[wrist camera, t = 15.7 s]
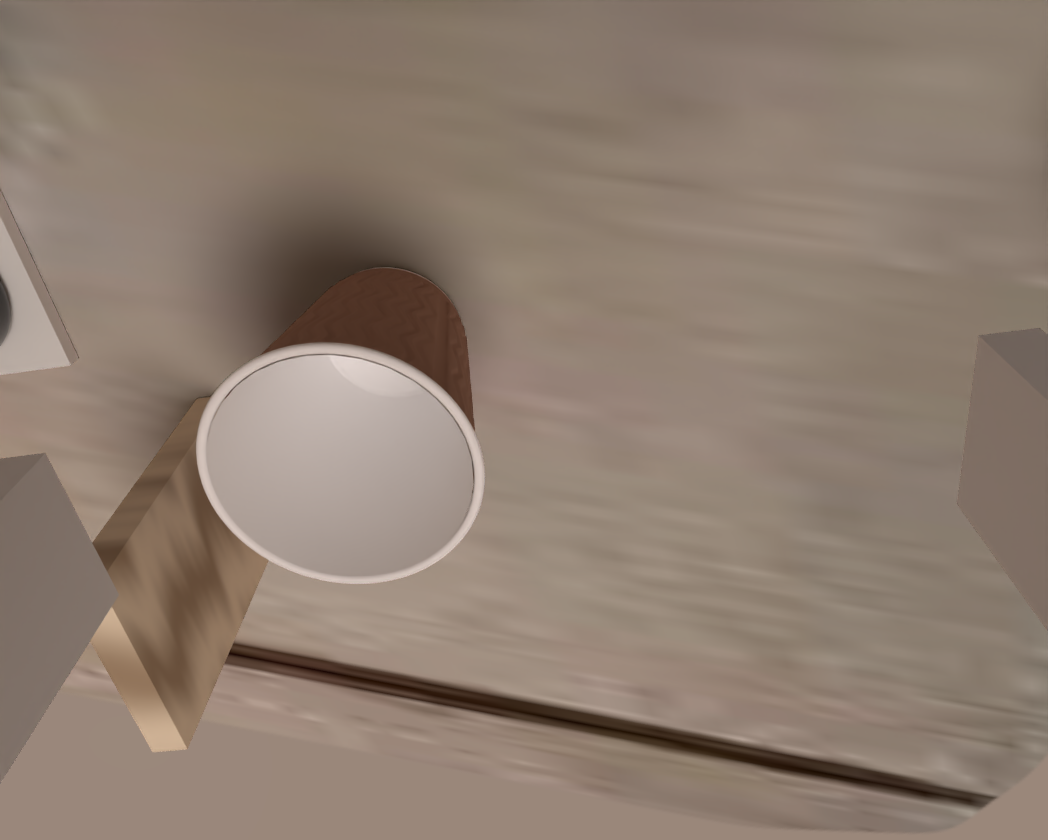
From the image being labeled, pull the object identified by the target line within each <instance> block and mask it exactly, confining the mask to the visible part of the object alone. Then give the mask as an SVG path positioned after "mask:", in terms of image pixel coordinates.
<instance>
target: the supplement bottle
mask: <svg viewBox="0 0 1048 840" xmlns="http://www.w3.org/2000/svg"><path fill="white" fill-rule="evenodd" d="M9 326H10V305H9V301H8V297H7V294H6V291H5V289H4V287H3V285H2V283H1V281H0V346H1V345H2V343H3V342H4V340H5V338H6V336H7V333H8V330H9Z"/></svg>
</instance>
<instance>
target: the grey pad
mask: <svg viewBox="0 0 1048 840" xmlns="http://www.w3.org/2000/svg"><path fill="white" fill-rule="evenodd" d="M0 281H1V283H2V285H3V287H4V289H5V291H6V294H7V297H8V301H9V305H10V326H9V330H8V333H7V336H6V338H5V340H4V342H3V343H2V345H1V346H0V375H5V374H12V373H19V372H27V371H34V370H41V369H49V368H56V367H63V366H71V365H72V364H73V363H74V362H75V361H76V360H77V359H78V355H77V353H76V351H75V349H74V347H73V345H72V343H71V340H70V338H69V336H68V334H67V332H66V330H65V328H64V325H63V323H62V321H61V319H60V317H59V315H58V313H57V310H56V308H55V306H54V304H53V302H52V300H51V297H50V295H49V293H48V291H47V289H46V287H45V285H44V282H43V280H42V278H41V276H40V274H39V272H38V270H37V267H36V265H35V263H34V261H33V259H32V257H31V255H30V252H29V250H28V248H27V246H26V244H25V242H24V239H23V237H22V235H21V233H20V231H19V229H18V227H17V224H16V222H15V220H14V218H13V216H12V214H11V212H10V209H9V207H8V205H7V203H6V201H5V199H4V197H3V194H2V192H1V190H0Z"/></svg>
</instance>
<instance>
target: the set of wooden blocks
mask: <svg viewBox="0 0 1048 840" xmlns="http://www.w3.org/2000/svg"><path fill="white" fill-rule="evenodd" d="M209 399H210V397H205V398H197V399H196V401H195V402H194V403H193V405H192V406H191V408H190V409H189V410H188V412H187V413H186V414H185V416H184V417H183V419H182V420H181V421H180V423H179V424H178V426H177V427H176V428H175V430H174V431H173V432H172V434H171V435H170V437H169V438H168V439H167V441H166V442H165V443H164V445H163V446H162V448H161V449H160V450H159V452H158V453H157V454H156V456H155V457H154V459H153V460H152V461H151V463H150V464H149V465H148V467H147V468H146V470H145V471H144V472H143V474H142V475H141V477H140V478H139V479H138V481H137V482H136V483H135V485H134V486H133V488H132V489H131V490H130V492H129V493H128V494H127V496H126V497H125V499H124V500H123V501H122V503H121V504H120V505H119V507H118V508H117V510H116V511H115V512H114V514H113V515H112V516H111V518H110V519H109V521H108V522H107V523H106V525H105V526H104V528H103V529H102V530H101V532H100V533H99V534H98V536H97V537H96V539H95V540H94V541H93V543H92V544H93V546H94V547H95V549H96V551H97V553H98V555H99V557H100V559H101V561H102V563H103V565H104V567H105V569H106V570H107V572H108V574H109V576H110V578H111V580H112V582H113V584H114V586H115V588H116V590H117V592H118V594H119V596H118V597H117V599H116V601H115V602H114V604H113V605H112V607H111V609H110V610H109V612H108V613H107V615H106V616H105V618H104V620H103V621H102V623H101V624H100V626H99V628H98V629H97V631H96V632H95V634H94V636H93V637H92V639H91V640H90V642H91V644H92V645H93V647H94V649H95V651H96V652H97V654H98V656H99V658H100V659H101V661H102V663H103V665H104V667H105V668H106V670H107V672H108V674H109V675H110V677H111V679H112V681H113V683H114V684H115V686H116V688H117V690H118V691H119V693H120V695H121V697H122V698H123V700H124V702H125V704H126V706H127V707H128V709H129V711H130V713H131V714H132V716H133V718H134V720H135V722H136V723H137V725H138V727H139V729H140V730H141V732H142V734H143V736H144V738H145V739H146V741H147V743H148V745H149V746H150V748H151V750H152V752H161V751H172V750H184V749H188V746H189V744H190V742H191V740H192V737H193V735H194V733H195V730H196V728H197V726H198V723H199V721H200V719H201V716H202V714H203V712H204V709H205V707H206V705H207V702H208V700H209V698H210V695H211V693H212V691H213V688H214V686H215V684H216V681H217V679H218V677H219V674H220V672H221V670H222V667H223V665H224V663H225V661H226V658H227V656H228V654H229V651H230V649H231V647H232V644H233V642H234V640H235V637H236V635H237V633H238V630H239V628H240V626H241V623H242V621H243V619H244V616H245V614H246V612H247V609H248V607H249V605H250V602H251V600H252V598H253V595H254V593H255V591H256V588H257V586H258V584H259V581H260V579H261V577H262V574H263V572H264V570H265V567H266V565H267V563H268V560H267V559H266V558H264V557H262V556H261V555H259V554H258V553H256V552H255V551H254V550H252V549H251V548H250V547H248V546H247V545H246V544H245V543H243V542H242V541H241V540H240V539H239V538H238V537H237V536H236V535H235V534H234V533H233V532H232V531H231V530H230V529H229V528H228V527H227V526H226V525H225V523H224V522H223V521H222V520H221V518H220V517H219V516H218V514H217V513H216V511H215V510H214V508H213V506H212V505H211V503H210V501H209V499H208V497H207V495H206V493H205V490H204V488H203V485H202V482H201V479H200V475H199V471H198V465H197V456H196V439H197V431H198V426H199V422H200V419H201V416H202V413H203V411H204V409H205V407H206V404H207V402H208V401H209ZM224 400H225V399H224ZM224 400H223V401H224ZM223 401H222V402H223ZM220 405H221V404H220ZM219 407H220V406H219ZM218 409H219V408H218ZM217 411H218V410H217ZM216 413H217V412H216ZM215 415H216V414H215ZM214 417H215V416H214ZM213 419H214V418H213ZM210 428H211V427H210Z"/></svg>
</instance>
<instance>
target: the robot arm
mask: <svg viewBox="0 0 1048 840" xmlns="http://www.w3.org/2000/svg"><path fill="white" fill-rule="evenodd" d="M957 505H958V506H959V508H960V509H961V510H962V512H963V513H964V515H965V516H966V517H967V519H968V520H969V522H970V523H971V524H972V526H973V527H974V529H975V530H976V531H977V533H978V534H979V536H980V537H981V538H982V540H983V541H984V543H985V544H986V545H987V547H988V548H989V550H990V551H991V552H992V554H993V555H994V557H995V558H996V559H997V561H998V562H999V564H1000V565H1001V566H1002V568H1003V569H1004V571H1005V572H1006V573H1007V575H1008V576H1009V578H1010V579H1011V580H1012V582H1013V583H1014V585H1015V586H1016V587H1017V589H1018V590H1019V592H1020V593H1021V594H1022V596H1023V597H1024V599H1025V600H1026V601H1027V603H1028V604H1029V606H1030V607H1031V608H1032V610H1033V611H1034V613H1035V614H1036V615H1037V617H1038V618H1039V620H1040V621H1041V622H1042V624H1043V625H1044V627H1045V628H1046V629H1047V631H1048V334H1046V333H1045V332H1044V331H1043V330H1041V329H1040V328H1035V329H1027V330H1019V331H1011V332H1003V333H995V334H987V335H979V337H978V344H977V352H976V360H975V368H974V375H973V383H972V391H971V399H970V406H969V414H968V422H967V430H966V437H965V445H964V453H963V460H962V468H961V476H960V484H959V491H958V499H957ZM118 596H119V594H118V592H117V590H116V588H115V586H114V584H113V582H112V580H111V578H110V576H109V574H108V572H107V570H106V569H105V567H104V565H103V563H102V561H101V559H100V557H99V555H98V553H97V551H96V549H95V547H94V546H93V544H92V542H91V540H90V538H89V536H88V534H87V532H86V530H85V528H84V526H83V524H82V522H81V521H80V519H79V517H78V515H77V513H76V511H75V509H74V507H73V505H72V503H71V501H70V499H69V497H68V496H67V494H66V492H65V490H64V488H63V486H62V484H61V482H60V480H59V478H58V476H57V474H56V472H55V471H54V469H53V467H52V465H51V463H50V461H49V459H48V457H47V455H46V453H42V454H34V455H26V456H18V457H10V458H2V459H0V783H1V781H2V780H3V778H4V777H5V775H6V774H7V772H8V770H9V769H10V767H11V766H12V764H13V763H14V761H15V759H16V758H17V756H18V755H19V753H20V751H21V750H22V748H23V747H24V745H25V744H26V742H27V740H28V739H29V737H30V735H31V734H32V732H33V731H34V729H35V728H36V726H37V724H38V723H39V721H40V720H41V718H42V717H43V715H44V713H45V712H46V710H47V709H48V707H49V705H50V704H51V702H52V700H53V699H54V697H55V696H56V694H57V693H58V691H59V690H60V688H61V686H62V685H63V683H64V682H65V680H66V678H67V677H68V675H69V674H70V672H71V670H72V669H73V667H74V666H75V664H76V663H77V661H78V659H79V658H80V656H81V655H82V653H83V651H84V650H85V648H86V647H87V645H88V643H89V642H90V640H91V639H92V637H93V636H94V634H95V632H96V631H97V629H98V628H99V626H100V624H101V623H102V621H103V620H104V618H105V616H106V615H107V613H108V612H109V610H110V609H111V607H112V605H113V604H114V602H115V601H116V599H117V597H118Z"/></svg>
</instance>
